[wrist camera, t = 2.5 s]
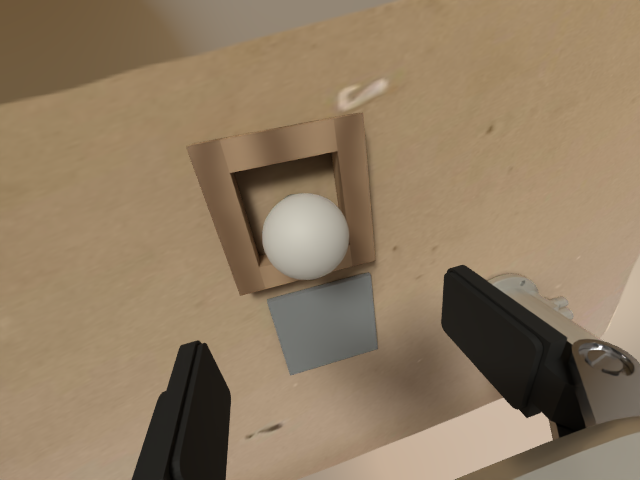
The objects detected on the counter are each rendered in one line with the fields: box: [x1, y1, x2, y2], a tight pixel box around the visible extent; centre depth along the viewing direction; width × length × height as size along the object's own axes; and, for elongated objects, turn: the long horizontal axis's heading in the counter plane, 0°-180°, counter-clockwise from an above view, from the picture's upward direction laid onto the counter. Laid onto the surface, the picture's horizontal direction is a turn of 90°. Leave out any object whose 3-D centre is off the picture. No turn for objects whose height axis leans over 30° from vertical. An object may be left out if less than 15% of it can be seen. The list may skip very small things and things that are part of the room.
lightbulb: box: [262, 193, 349, 280], centre depth 21 cm, size 6×6×11 cm
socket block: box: [186, 113, 375, 296], centre depth 25 cm, size 14×14×2 cm
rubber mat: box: [267, 272, 378, 375], centre depth 33 cm, size 12×12×1 cm
